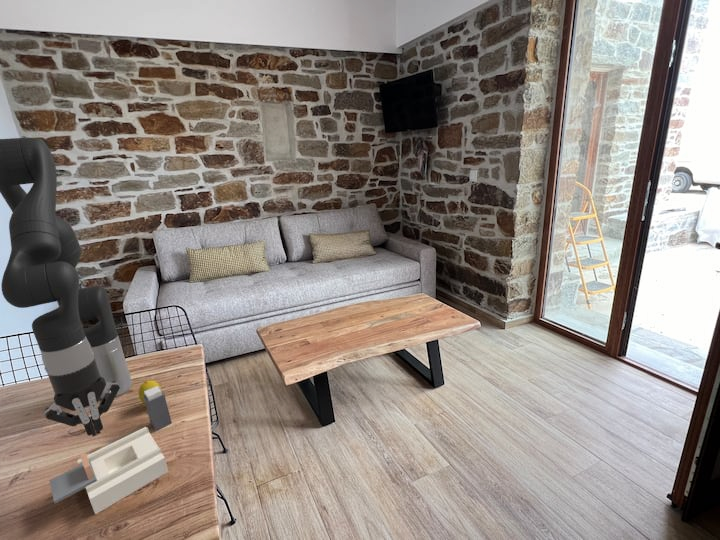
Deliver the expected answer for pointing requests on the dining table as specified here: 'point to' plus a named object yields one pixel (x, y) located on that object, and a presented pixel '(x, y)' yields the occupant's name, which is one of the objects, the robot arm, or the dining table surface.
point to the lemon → (146, 388)
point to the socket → (124, 468)
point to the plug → (157, 408)
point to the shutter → (73, 480)
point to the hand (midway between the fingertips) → (95, 433)
